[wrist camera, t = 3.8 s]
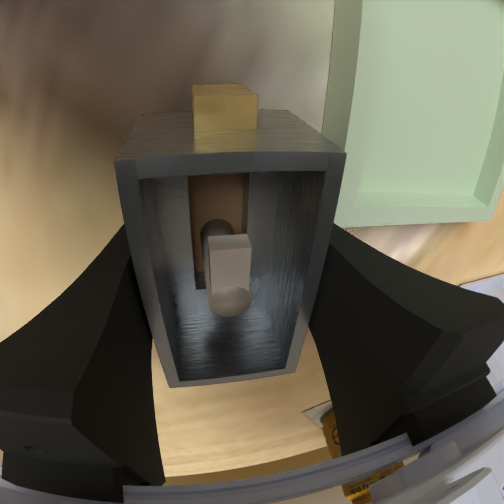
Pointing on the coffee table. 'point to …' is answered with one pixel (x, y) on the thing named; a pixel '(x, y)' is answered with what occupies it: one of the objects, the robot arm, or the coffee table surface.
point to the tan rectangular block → (220, 241)
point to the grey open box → (253, 224)
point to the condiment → (354, 489)
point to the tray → (417, 110)
